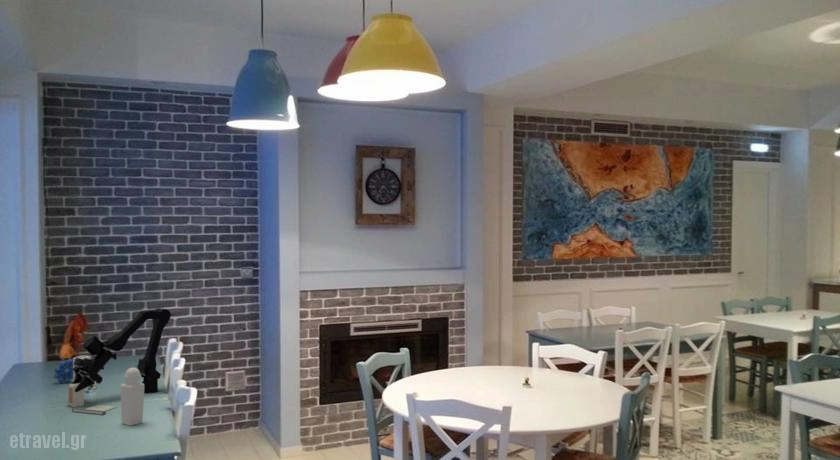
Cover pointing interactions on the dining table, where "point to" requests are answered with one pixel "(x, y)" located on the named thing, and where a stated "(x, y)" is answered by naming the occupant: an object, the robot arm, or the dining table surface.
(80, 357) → the syrup box
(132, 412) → the grey bottle
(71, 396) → the carton
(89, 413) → the rail
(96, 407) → the pad
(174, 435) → the dining table surface
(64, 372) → the grapes
